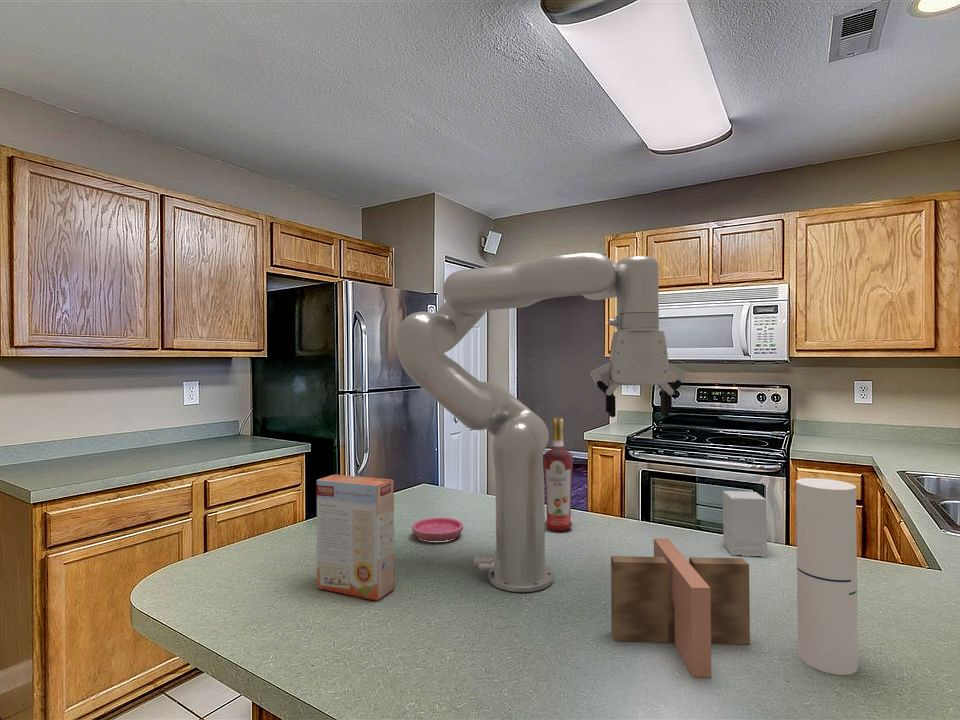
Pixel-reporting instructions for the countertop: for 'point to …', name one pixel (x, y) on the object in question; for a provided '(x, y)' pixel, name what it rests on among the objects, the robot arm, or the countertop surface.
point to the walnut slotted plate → (650, 610)
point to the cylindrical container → (827, 575)
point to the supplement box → (744, 523)
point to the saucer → (437, 529)
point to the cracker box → (355, 535)
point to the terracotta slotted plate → (688, 609)
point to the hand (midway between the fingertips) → (638, 416)
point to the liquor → (558, 481)
